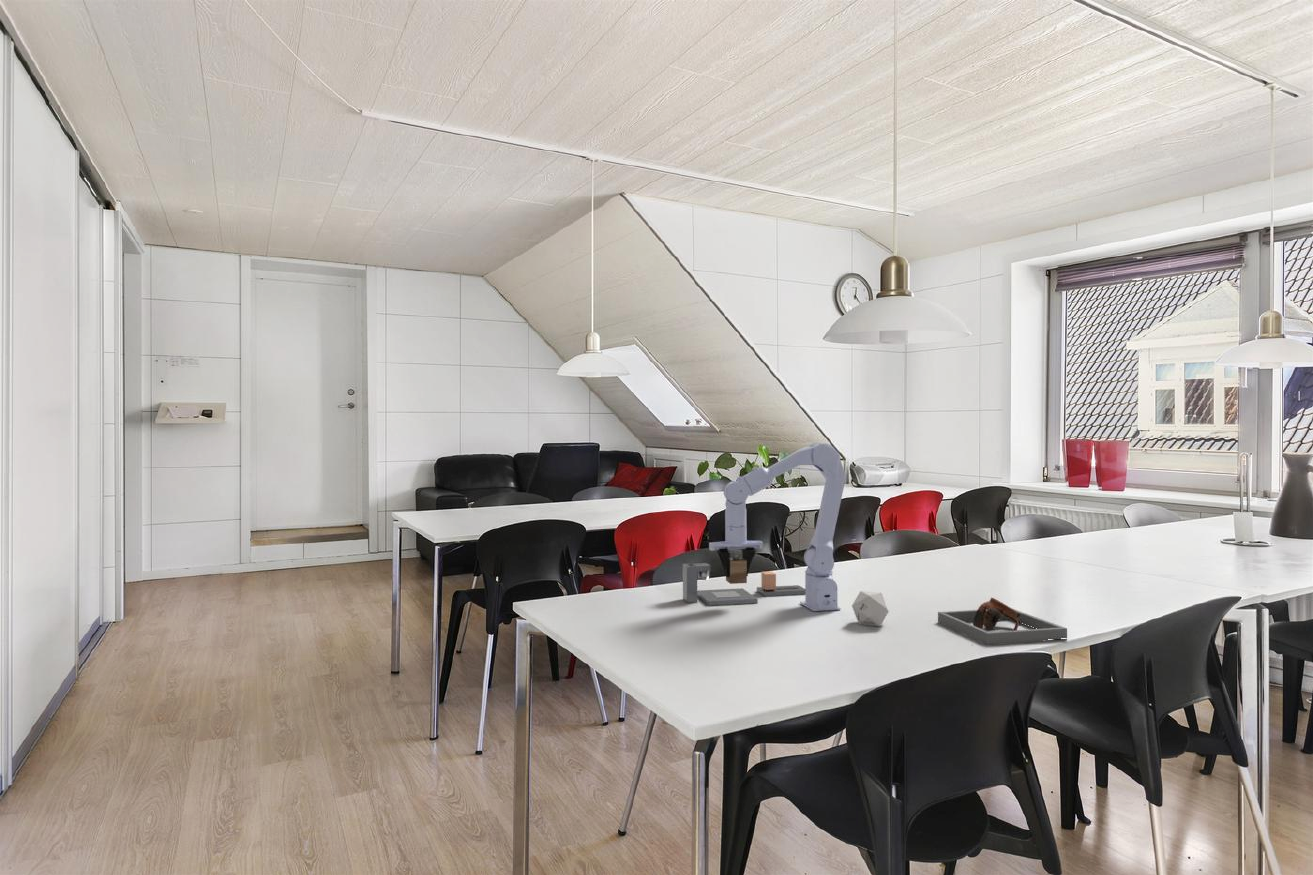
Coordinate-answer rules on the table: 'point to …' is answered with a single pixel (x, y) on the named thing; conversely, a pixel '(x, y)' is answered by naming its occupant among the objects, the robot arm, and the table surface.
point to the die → (870, 608)
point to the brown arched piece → (994, 614)
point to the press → (710, 595)
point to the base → (782, 591)
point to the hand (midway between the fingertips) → (736, 576)
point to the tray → (1042, 632)
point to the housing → (737, 570)
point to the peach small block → (768, 580)
